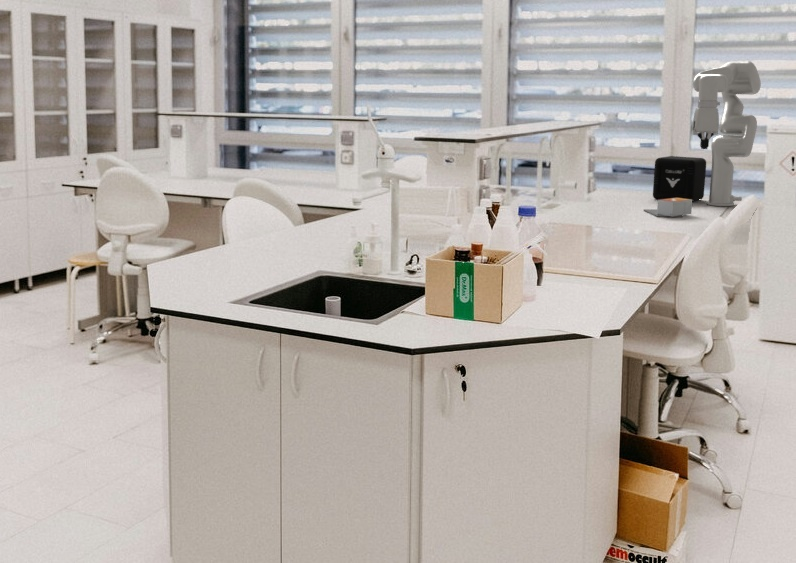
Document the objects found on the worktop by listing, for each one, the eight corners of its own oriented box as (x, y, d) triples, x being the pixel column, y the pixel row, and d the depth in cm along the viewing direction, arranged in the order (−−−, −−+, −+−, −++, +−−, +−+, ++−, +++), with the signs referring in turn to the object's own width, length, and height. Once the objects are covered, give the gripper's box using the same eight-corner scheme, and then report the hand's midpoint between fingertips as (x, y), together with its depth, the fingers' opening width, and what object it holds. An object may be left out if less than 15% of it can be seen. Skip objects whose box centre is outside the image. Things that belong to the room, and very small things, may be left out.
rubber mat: (668, 210, 401) (668, 209, 401) (682, 216, 384) (682, 215, 384) (643, 210, 401) (643, 209, 401) (656, 217, 383) (656, 215, 383)
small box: (692, 199, 386) (673, 201, 379) (691, 214, 388) (672, 216, 380) (676, 197, 393) (657, 199, 385) (675, 211, 394) (656, 214, 387)
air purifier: (650, 199, 438) (653, 157, 434) (663, 196, 449) (666, 155, 445) (691, 203, 425) (694, 160, 421) (703, 200, 436) (706, 158, 432)
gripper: (720, 104, 389) (717, 147, 394) (686, 104, 388) (683, 148, 393) (728, 105, 382) (724, 149, 386) (693, 105, 381) (690, 149, 385)
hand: (704, 148), depth 390 cm, fingers closed
